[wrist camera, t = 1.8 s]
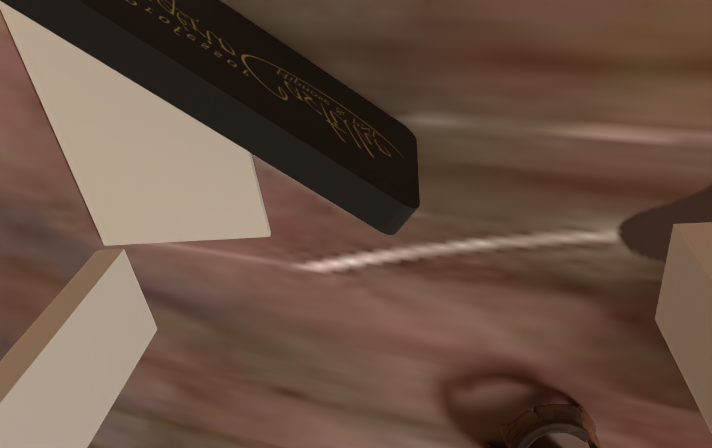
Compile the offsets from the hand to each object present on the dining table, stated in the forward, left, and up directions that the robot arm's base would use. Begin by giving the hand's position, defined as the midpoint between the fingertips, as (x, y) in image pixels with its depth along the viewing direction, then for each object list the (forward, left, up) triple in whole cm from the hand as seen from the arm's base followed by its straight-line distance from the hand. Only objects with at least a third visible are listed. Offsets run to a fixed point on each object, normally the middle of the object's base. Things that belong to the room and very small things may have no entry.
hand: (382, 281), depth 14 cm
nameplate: (-9, +1, -22) cm, 24 cm away
